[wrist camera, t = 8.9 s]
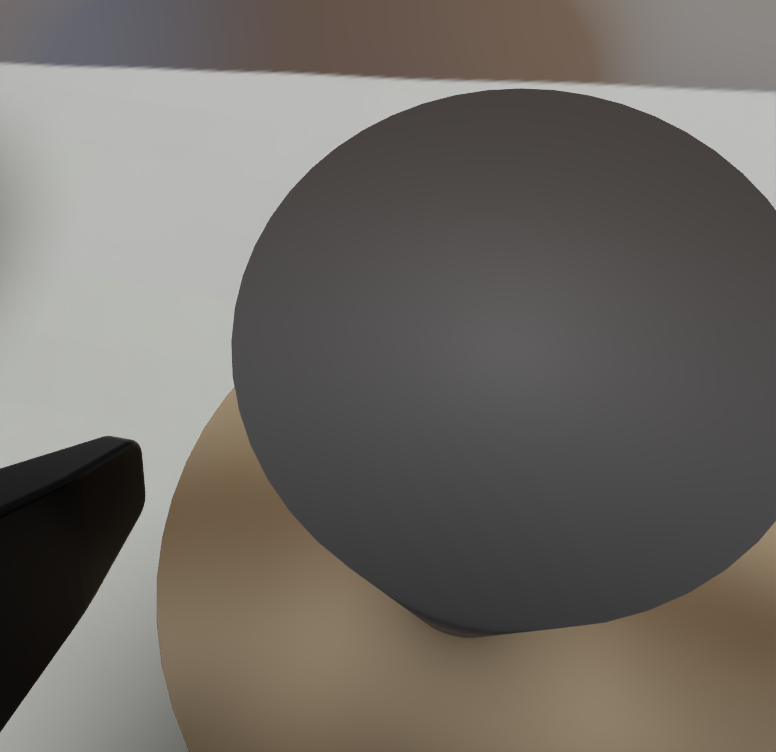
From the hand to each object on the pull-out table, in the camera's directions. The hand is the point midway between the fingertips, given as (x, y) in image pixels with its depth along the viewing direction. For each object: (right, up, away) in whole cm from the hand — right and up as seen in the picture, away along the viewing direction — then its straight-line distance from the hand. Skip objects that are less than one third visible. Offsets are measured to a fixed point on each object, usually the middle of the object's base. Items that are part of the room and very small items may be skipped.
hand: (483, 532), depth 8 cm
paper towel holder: (+1, -2, +7) cm, 7 cm away
